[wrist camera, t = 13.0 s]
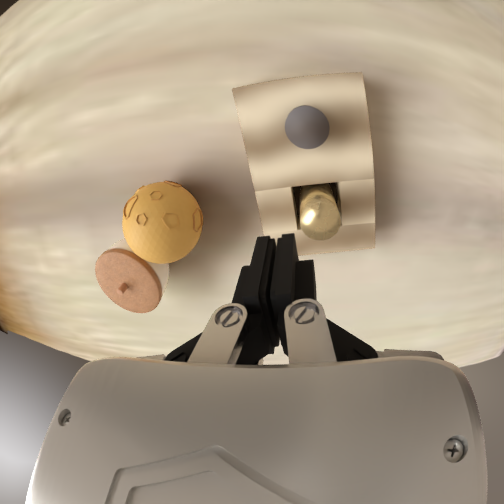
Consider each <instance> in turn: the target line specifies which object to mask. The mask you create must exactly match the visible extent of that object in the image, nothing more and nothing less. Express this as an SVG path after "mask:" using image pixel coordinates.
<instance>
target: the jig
mask: <svg viewBox="0 0 504 504" xmlns="http://www.w3.org/2000/svg"><path fill="white" fill-rule="evenodd" d="M232 92H233V96H234V100H235V105H236V109H237V113H238V118H239V122H240V127H241V131H242V136H243V140H244V145H245V149H246V154H247V158H248V163H249V167H250V172H251V177H252V181H253V186H254V191H255V195H256V200H257V205H258V209H259V214H260V219H261V224H262V228H263V233H264V236H270V238H271V239H272V238H274V239H275V242H276V246H277V239H278V238H282V234H289V233H294V234H295V240H296V246H297V252H298V256H299V255H310V254H321V253H331V252H341V251H352V250H362V249H372V248H375V186H374V167H373V153H372V141H371V131H370V123H369V114H368V107H367V100H366V94H365V87H364V81H363V76H362V72H356V73H335V74H322V75H312V76H302V77H294V78H287V79H280V80H274V81H268V82H262V83H257V84H252V85H247V86H242V87H237V88H233V89H232ZM331 182H336V193H337V204H338V211H339V214H340V217H341V226H340V228H339V230H338V232H337V233H336V234H335V235H334V236H333V237H331V238H329V239H327V240H314V239H311V238H309V237H308V236H306V235H305V234H304V232H303V231H302V229H301V226H300V215H298V216H297V209H296V203H295V196H294V190H293V187H294V186H303V185H312V184H321V183H331Z"/></svg>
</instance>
